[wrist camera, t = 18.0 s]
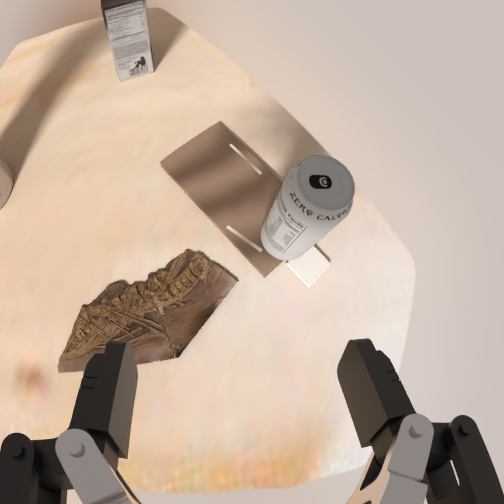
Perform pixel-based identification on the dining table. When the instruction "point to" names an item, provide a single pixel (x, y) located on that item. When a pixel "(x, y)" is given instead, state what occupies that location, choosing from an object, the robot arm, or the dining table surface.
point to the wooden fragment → (150, 313)
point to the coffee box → (128, 37)
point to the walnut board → (228, 189)
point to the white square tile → (309, 266)
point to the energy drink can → (307, 206)
